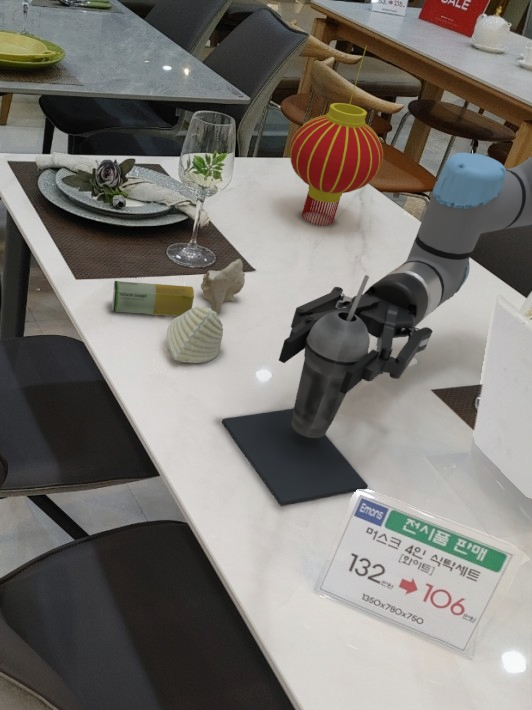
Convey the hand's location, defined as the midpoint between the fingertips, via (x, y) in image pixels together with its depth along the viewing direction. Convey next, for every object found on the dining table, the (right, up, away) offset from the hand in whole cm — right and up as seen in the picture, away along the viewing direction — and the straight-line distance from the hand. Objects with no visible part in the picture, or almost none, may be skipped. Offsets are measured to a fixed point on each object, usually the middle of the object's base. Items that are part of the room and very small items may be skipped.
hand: (314, 366), depth 85 cm
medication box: (-18, +14, +32) cm, 39 cm away
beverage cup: (+2, -5, +11) cm, 12 cm away
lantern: (+15, +42, +66) cm, 79 cm away
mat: (0, -9, +11) cm, 14 cm away
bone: (-8, +17, +37) cm, 41 cm away
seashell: (-12, +8, +26) cm, 29 cm away
